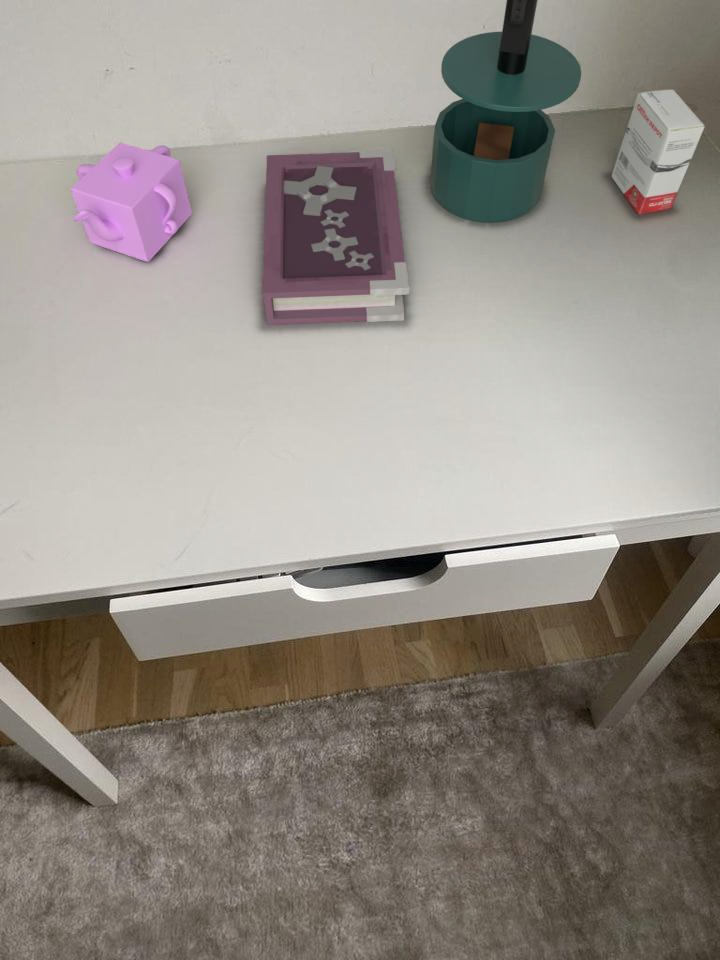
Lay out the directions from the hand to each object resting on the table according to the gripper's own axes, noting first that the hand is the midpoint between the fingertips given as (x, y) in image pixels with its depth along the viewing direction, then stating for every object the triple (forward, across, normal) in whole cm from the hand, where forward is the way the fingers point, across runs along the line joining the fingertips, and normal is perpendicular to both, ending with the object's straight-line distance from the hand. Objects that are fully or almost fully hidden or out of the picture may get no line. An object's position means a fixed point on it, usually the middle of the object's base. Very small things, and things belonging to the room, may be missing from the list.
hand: (515, 41), depth 84 cm
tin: (+20, -1, -1) cm, 20 cm away
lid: (+3, 0, 0) cm, 3 cm away
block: (+17, -2, -1) cm, 17 cm away
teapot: (+20, +20, -42) cm, 50 cm away
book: (+20, +16, -17) cm, 30 cm away
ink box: (+20, -5, +19) cm, 28 cm away
